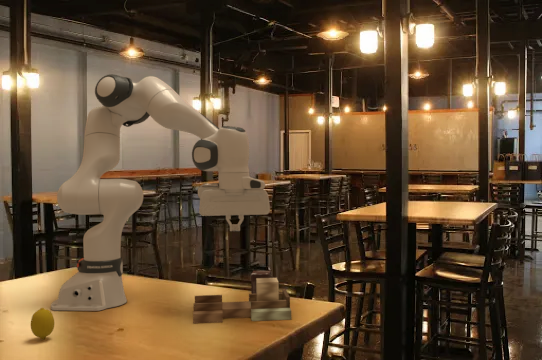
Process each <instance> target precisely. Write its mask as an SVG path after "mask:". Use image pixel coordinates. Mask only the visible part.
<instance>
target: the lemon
mask: <svg viewBox="0 0 542 360" xmlns="http://www.w3.org/2000/svg"><path fill="white" fill-rule="evenodd" d="M54 328H55V318H54V314H53V313H52V312H51V311H50V310H49V309H46V308H44V307H40V309H38V310H36V311H35V312H34V313H33V315H32V316H31V320H30V329H31V332H32V334H33V336H35V337H37V338H40V339H41V340H45V339H46V338H47V337H48V336H50V335H51V334H52V333H53V331H54Z"/></svg>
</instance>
